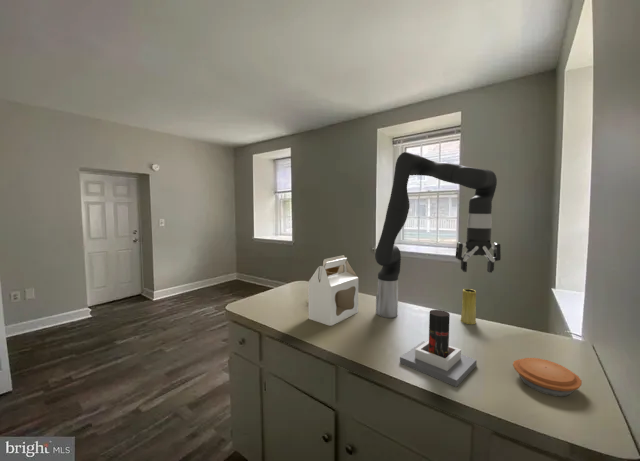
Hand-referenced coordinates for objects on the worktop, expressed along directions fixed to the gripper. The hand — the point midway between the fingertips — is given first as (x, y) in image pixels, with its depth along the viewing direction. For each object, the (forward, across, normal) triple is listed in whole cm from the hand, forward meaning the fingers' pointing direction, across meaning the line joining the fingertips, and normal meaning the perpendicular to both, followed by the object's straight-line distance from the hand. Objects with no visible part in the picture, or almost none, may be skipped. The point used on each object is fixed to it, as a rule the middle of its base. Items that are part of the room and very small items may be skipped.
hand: (476, 271), depth 103 cm
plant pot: (+29, +52, -54) cm, 80 cm away
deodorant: (+26, +16, +14) cm, 34 cm away
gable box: (+29, +52, -26) cm, 65 cm away
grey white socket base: (+28, +16, +14) cm, 35 cm away
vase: (+28, -7, -24) cm, 37 cm away
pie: (+28, -11, +21) cm, 37 cm away
